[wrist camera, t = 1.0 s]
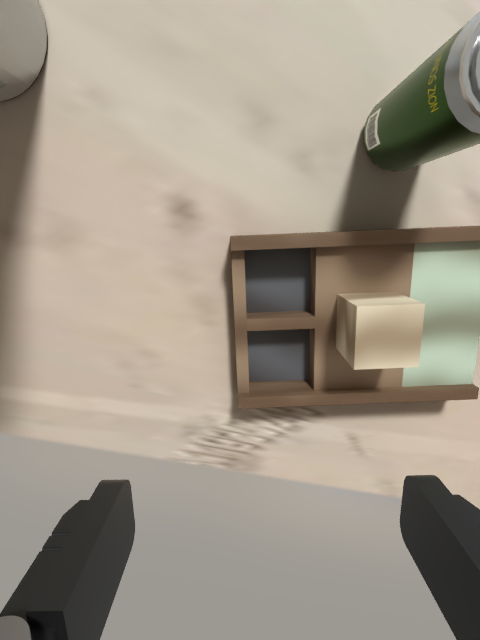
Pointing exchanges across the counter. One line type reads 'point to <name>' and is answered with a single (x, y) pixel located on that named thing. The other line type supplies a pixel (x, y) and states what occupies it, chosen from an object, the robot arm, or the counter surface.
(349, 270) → the box
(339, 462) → the counter surface
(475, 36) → the beer can
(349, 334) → the maple block
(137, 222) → the counter surface
